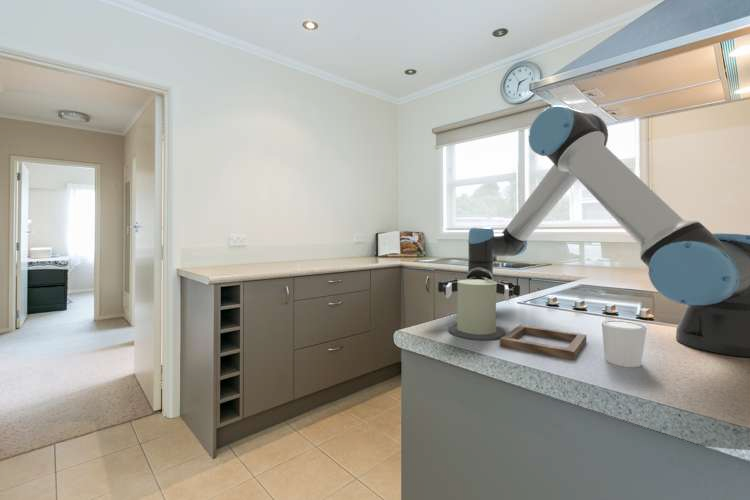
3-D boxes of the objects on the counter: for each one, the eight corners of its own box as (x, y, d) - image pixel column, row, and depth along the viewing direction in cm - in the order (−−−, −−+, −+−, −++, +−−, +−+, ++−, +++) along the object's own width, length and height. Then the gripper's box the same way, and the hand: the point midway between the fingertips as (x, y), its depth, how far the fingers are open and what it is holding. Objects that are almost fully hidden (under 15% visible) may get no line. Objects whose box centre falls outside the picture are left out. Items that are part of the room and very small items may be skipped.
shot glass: (653, 369, 64) (655, 330, 64) (611, 367, 66) (612, 328, 65) (632, 356, 71) (634, 320, 71) (594, 354, 72) (595, 319, 72)
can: (498, 335, 83) (499, 283, 82) (457, 333, 85) (457, 282, 84) (494, 325, 92) (494, 277, 91) (456, 323, 94) (456, 277, 93)
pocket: (586, 341, 80) (586, 334, 80) (573, 360, 69) (574, 351, 69) (520, 331, 89) (520, 324, 89) (499, 345, 78) (499, 338, 78)
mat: (513, 330, 89) (513, 328, 89) (493, 343, 79) (493, 341, 79) (463, 322, 97) (463, 320, 97) (439, 333, 87) (439, 331, 87)
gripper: (525, 296, 104) (533, 312, 83) (436, 292, 111) (424, 306, 91) (525, 269, 103) (534, 279, 83) (436, 267, 111) (424, 276, 90)
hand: (476, 293), depth 87 cm, fingers open, 13 cm apart
